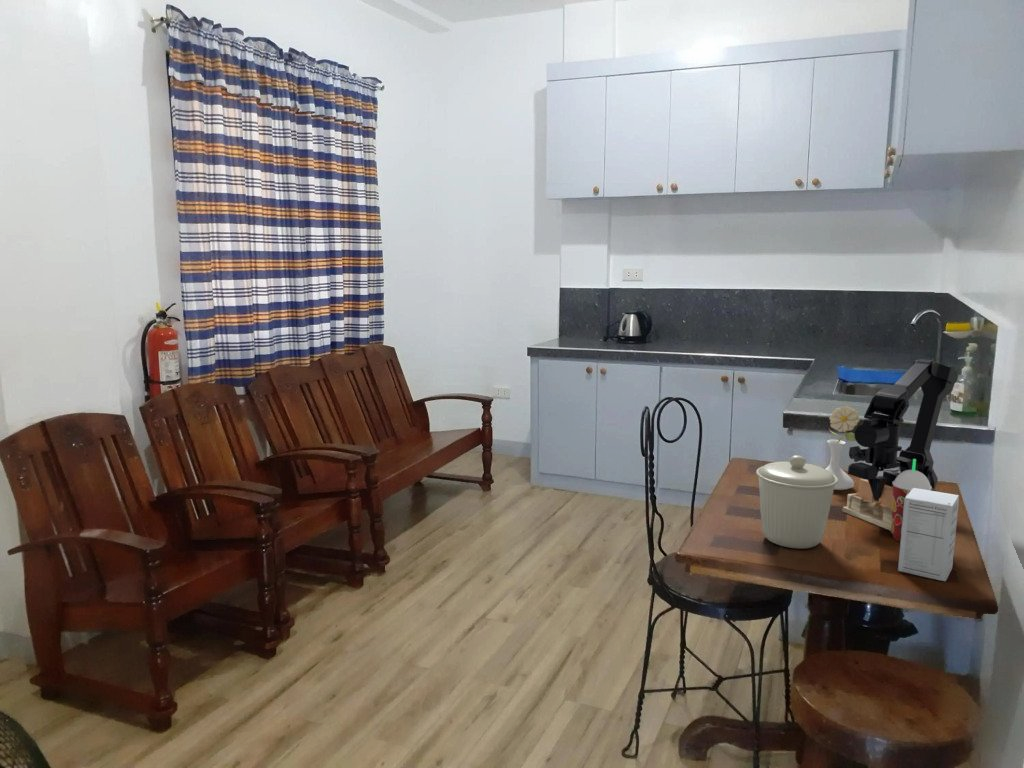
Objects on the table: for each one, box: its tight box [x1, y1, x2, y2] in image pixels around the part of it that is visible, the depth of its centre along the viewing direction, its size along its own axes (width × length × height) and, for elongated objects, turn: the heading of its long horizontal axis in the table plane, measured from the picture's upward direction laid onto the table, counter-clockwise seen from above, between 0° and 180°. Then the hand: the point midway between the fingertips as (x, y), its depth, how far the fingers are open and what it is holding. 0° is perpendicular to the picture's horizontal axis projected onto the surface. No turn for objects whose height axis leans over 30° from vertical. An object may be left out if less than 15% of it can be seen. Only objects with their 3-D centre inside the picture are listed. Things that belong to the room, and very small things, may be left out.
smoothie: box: [890, 459, 933, 542], centre depth 180 cm, size 8×8×20 cm
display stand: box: [841, 492, 892, 532], centre depth 195 cm, size 8×16×5 cm, turn 23°
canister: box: [755, 454, 838, 549], centre depth 178 cm, size 18×18×21 cm
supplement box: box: [897, 488, 960, 582], centre depth 163 cm, size 10×9×17 cm
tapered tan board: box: [857, 478, 893, 509], centre depth 194 cm, size 2×12×5 cm, turn 24°
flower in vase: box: [825, 405, 860, 491], centre depth 219 cm, size 13×11×25 cm
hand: (880, 499), depth 195 cm, fingers closed on tapered tan board, 2 cm apart
